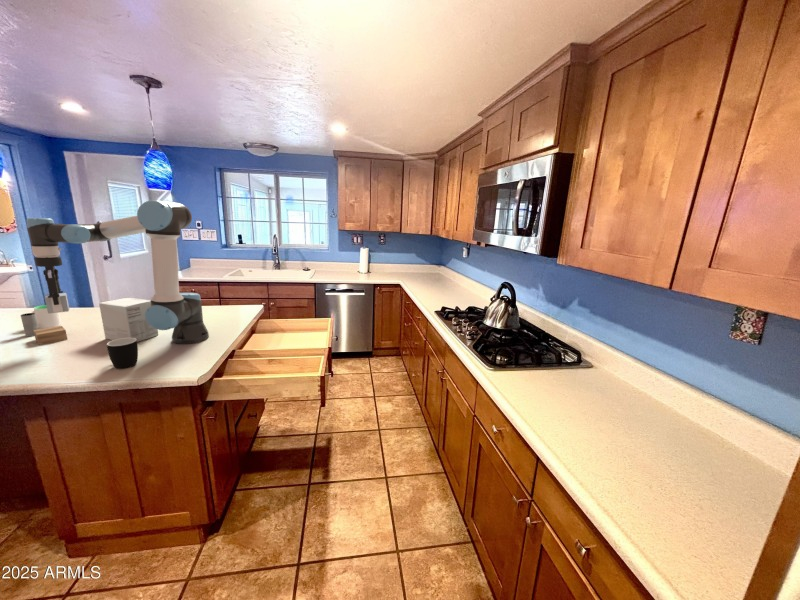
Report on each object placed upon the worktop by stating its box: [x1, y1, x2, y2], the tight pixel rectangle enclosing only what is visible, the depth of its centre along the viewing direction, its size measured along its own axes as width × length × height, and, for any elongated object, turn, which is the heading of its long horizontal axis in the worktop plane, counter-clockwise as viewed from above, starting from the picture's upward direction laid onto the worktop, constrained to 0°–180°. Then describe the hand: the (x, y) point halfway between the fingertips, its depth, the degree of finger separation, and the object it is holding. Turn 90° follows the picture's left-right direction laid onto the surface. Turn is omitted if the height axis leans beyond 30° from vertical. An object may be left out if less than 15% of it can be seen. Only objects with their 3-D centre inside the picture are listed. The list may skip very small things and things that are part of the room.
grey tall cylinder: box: [20, 312, 40, 337], centre depth 150 cm, size 4×4×10 cm
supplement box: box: [98, 297, 159, 343], centre depth 152 cm, size 17×13×18 cm
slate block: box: [44, 292, 70, 314], centre depth 135 cm, size 6×6×7 cm
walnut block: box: [33, 325, 68, 346], centre depth 146 cm, size 9×9×5 cm
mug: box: [106, 338, 139, 370], centre depth 125 cm, size 12×9×10 cm
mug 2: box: [28, 304, 62, 329], centre depth 160 cm, size 12×8×10 cm, turn 160°
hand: (58, 309), depth 136 cm, fingers closed on slate block, 6 cm apart
